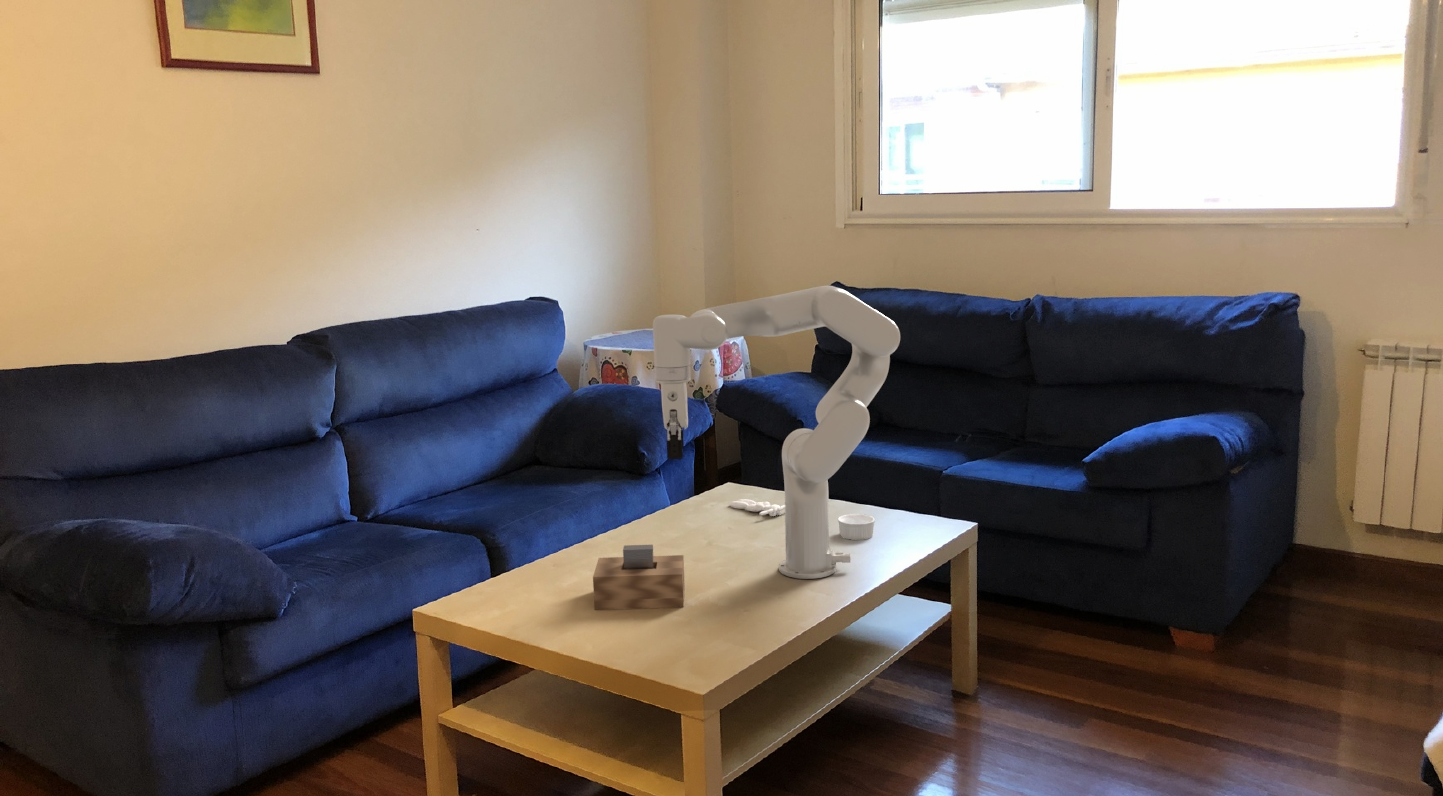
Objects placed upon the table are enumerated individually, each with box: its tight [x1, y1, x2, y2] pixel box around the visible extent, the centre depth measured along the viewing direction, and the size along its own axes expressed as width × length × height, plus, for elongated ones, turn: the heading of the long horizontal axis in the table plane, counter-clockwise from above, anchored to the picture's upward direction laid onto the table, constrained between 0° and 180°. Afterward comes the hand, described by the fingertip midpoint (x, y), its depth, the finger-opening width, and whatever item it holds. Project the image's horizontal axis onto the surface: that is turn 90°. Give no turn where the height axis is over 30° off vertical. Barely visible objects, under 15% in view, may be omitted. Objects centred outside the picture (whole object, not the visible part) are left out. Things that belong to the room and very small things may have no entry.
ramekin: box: [837, 513, 876, 541], centre depth 266 cm, size 9×9×4 cm
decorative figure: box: [728, 498, 785, 517], centre depth 289 cm, size 4×12×18 cm
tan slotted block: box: [592, 554, 686, 611], centre depth 228 cm, size 18×12×7 cm, turn 91°
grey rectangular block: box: [622, 544, 654, 570], centre depth 227 cm, size 6×3×9 cm, turn 91°
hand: (675, 453), depth 233 cm, fingers open, 9 cm apart
